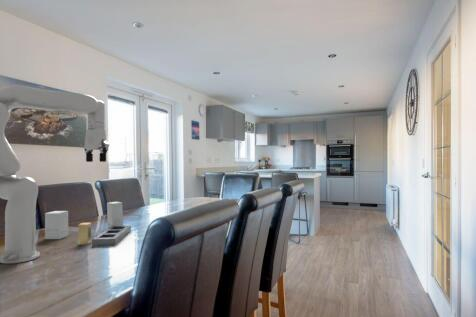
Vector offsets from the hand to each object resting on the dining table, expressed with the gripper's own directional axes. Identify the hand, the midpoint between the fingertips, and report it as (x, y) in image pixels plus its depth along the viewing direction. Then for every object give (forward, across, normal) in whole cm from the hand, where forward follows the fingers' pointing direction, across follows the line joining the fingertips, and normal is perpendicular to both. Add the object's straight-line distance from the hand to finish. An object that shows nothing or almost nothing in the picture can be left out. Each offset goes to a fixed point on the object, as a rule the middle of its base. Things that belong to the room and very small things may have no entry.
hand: (96, 161), depth 144 cm
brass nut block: (+37, +2, -7) cm, 38 cm away
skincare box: (+38, -10, +20) cm, 44 cm away
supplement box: (+38, -20, -6) cm, 43 cm away
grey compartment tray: (+37, +5, +6) cm, 38 cm away
